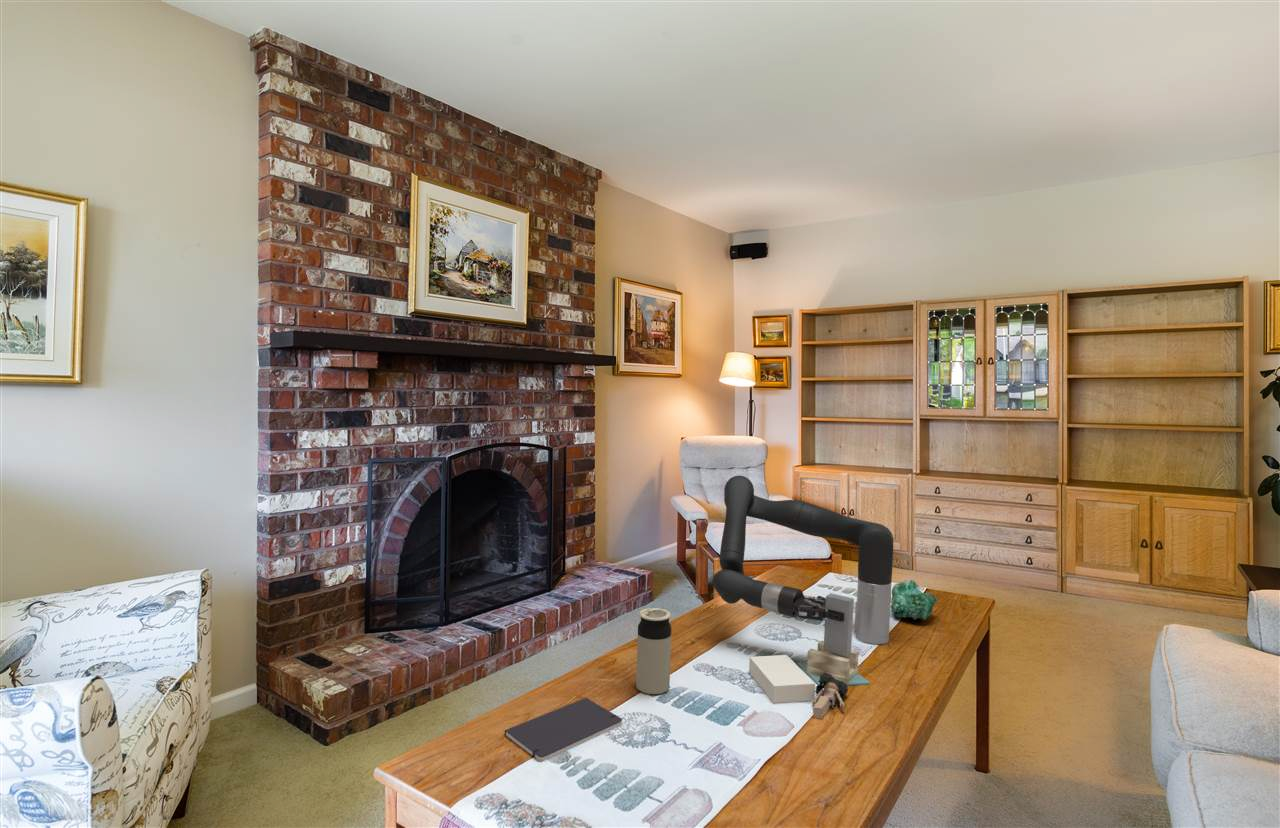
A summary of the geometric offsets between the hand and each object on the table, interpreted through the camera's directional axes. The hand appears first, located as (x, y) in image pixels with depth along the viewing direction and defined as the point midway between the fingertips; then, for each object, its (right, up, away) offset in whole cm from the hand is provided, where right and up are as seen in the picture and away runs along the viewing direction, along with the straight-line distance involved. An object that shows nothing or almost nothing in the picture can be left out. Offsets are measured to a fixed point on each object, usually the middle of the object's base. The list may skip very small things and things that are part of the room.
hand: (845, 615), depth 161 cm
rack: (-3, -15, +2) cm, 16 cm away
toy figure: (-8, -17, -14) cm, 23 cm away
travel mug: (-49, -15, -8) cm, 51 cm away
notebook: (-67, -16, -28) cm, 74 cm away
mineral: (+36, -15, +47) cm, 61 cm away
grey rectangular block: (-2, -10, +1) cm, 10 cm away
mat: (-3, -16, +2) cm, 16 cm away
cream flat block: (-18, -15, -5) cm, 24 cm away
